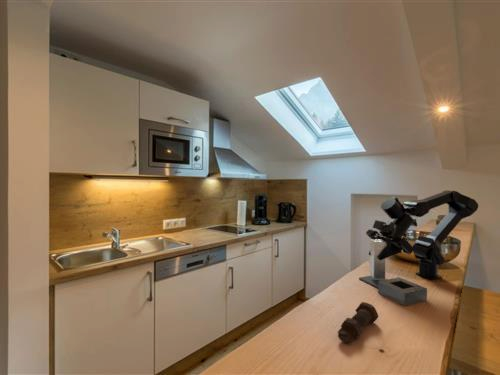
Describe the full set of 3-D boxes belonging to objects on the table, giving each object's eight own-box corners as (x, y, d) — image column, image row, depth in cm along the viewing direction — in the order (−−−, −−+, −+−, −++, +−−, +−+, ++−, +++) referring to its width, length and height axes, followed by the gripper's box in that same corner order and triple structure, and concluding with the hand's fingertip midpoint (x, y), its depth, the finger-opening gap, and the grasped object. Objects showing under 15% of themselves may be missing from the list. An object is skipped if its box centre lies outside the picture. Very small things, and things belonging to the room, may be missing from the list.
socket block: (399, 288, 91) (399, 277, 91) (426, 300, 81) (427, 288, 81) (377, 292, 87) (378, 281, 87) (404, 306, 78) (404, 293, 78)
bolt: (340, 350, 61) (365, 323, 71) (358, 349, 58) (381, 321, 68) (329, 325, 63) (355, 302, 73) (345, 323, 59) (370, 299, 70)
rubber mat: (376, 276, 102) (376, 274, 102) (396, 284, 94) (396, 283, 94) (358, 279, 99) (358, 277, 99) (377, 288, 91) (377, 286, 91)
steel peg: (380, 274, 98) (381, 239, 97) (385, 278, 94) (385, 241, 93) (370, 274, 98) (370, 239, 98) (373, 278, 94) (374, 241, 94)
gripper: (369, 210, 105) (346, 237, 103) (406, 216, 87) (379, 250, 85) (385, 227, 107) (363, 255, 105) (425, 237, 89) (398, 271, 87)
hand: (374, 257), depth 96 cm, fingers closed on steel peg, 5 cm apart
